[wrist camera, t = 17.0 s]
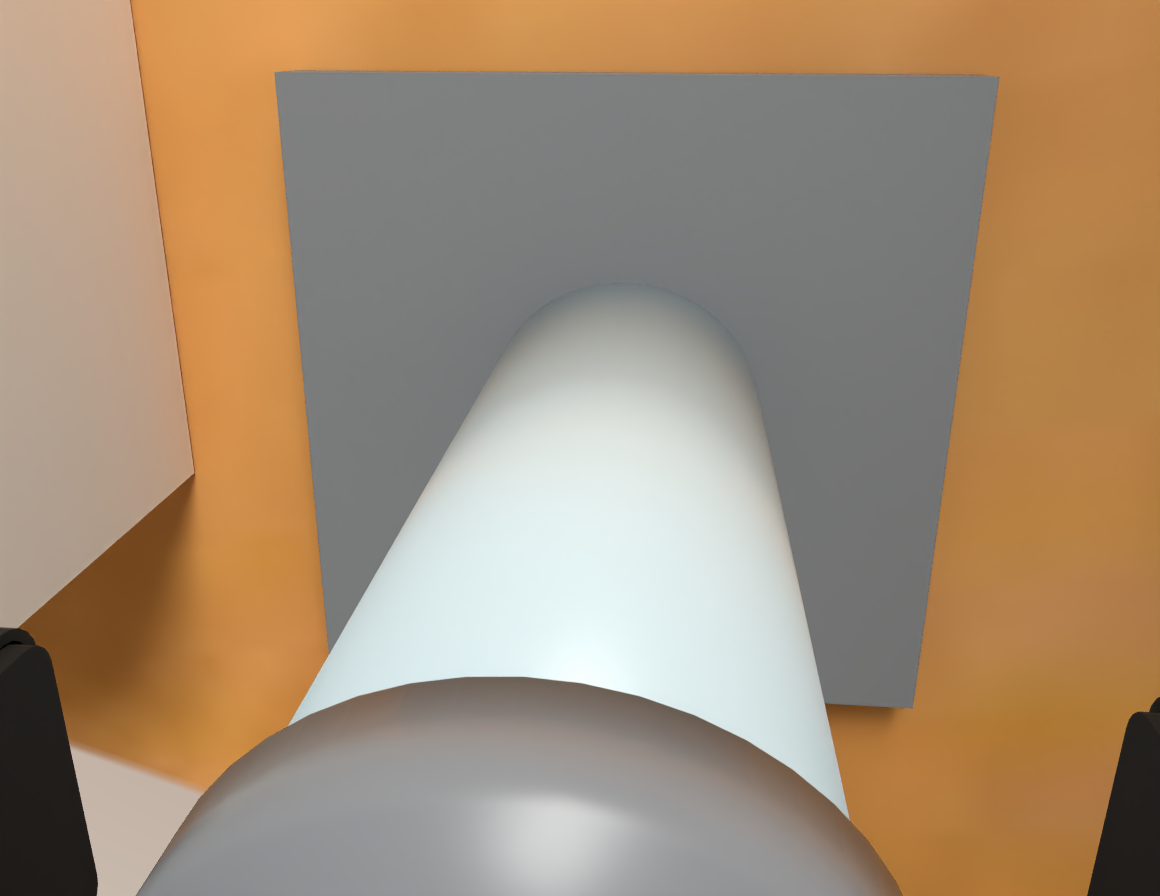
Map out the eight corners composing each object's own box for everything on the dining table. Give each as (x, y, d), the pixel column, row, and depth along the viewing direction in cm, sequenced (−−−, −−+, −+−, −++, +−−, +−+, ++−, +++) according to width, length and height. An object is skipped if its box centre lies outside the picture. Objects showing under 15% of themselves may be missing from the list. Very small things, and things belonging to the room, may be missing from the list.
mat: (298, 70, 19) (274, 72, 18) (980, 74, 18) (999, 76, 17) (348, 645, 24) (330, 675, 22) (901, 675, 22) (912, 708, 21)
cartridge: (422, 459, 20) (-56, 1230, 7) (567, 206, 18) (280, 623, 5) (670, 600, 21) (652, 1550, 8) (836, 369, 19) (1189, 1112, 6)
